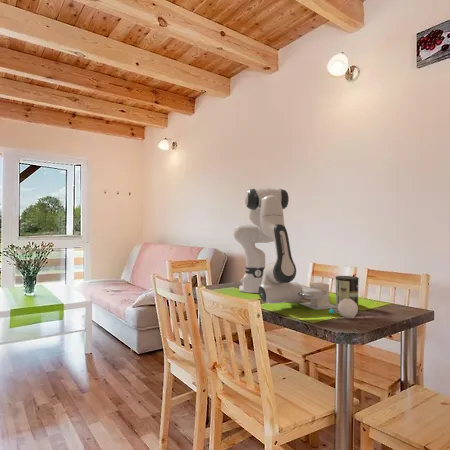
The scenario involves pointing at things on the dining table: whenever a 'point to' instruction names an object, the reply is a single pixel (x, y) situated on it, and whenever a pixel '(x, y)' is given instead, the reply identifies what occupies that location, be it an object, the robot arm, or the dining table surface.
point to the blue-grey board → (319, 307)
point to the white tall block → (325, 299)
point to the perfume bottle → (346, 308)
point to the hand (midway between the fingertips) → (319, 290)
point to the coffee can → (346, 288)
